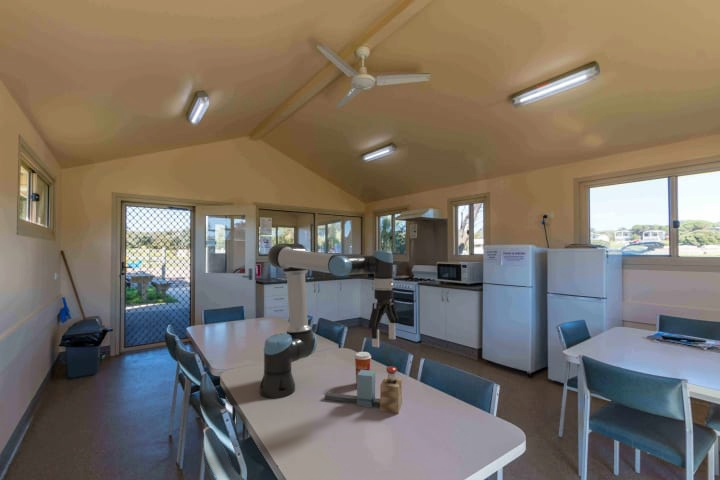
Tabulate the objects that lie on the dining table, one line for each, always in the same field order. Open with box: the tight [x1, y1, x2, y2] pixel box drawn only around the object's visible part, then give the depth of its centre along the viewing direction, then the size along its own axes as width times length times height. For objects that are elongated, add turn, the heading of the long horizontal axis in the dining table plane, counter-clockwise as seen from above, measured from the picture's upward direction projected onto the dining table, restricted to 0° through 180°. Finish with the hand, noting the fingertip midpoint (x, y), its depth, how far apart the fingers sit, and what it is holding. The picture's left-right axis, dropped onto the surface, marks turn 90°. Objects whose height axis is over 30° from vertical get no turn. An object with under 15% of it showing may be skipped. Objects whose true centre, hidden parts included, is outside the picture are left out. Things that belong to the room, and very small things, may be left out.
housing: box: [379, 376, 403, 414], centre depth 133 cm, size 7×9×10 cm
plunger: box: [385, 365, 398, 384], centre depth 133 cm, size 4×4×6 cm
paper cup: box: [354, 351, 372, 384], centre depth 155 cm, size 8×8×14 cm
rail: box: [324, 391, 380, 408], centre depth 137 cm, size 24×3×2 cm, turn 74°
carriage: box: [356, 370, 376, 408], centre depth 136 cm, size 6×6×12 cm
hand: (384, 342), depth 134 cm, fingers open, 13 cm apart
